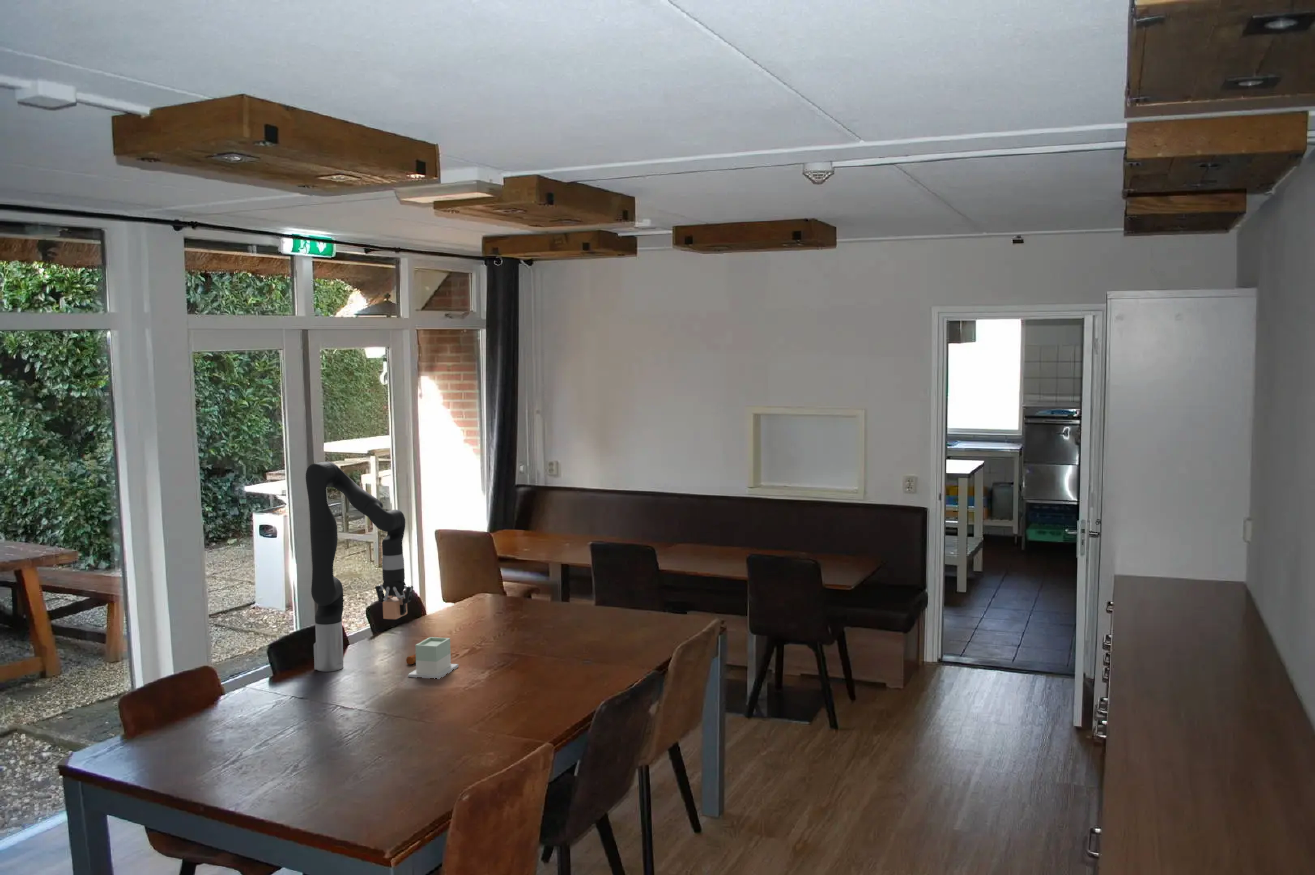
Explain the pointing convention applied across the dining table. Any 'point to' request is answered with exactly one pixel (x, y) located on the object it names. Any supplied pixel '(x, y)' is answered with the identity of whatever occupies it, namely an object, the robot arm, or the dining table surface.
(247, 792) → the dining table surface
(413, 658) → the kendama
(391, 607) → the brick
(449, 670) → the mint open-top box
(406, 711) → the dining table surface
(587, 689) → the dining table surface
